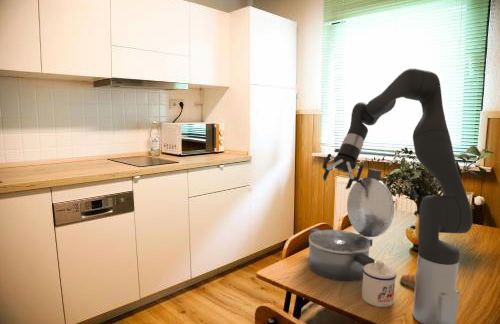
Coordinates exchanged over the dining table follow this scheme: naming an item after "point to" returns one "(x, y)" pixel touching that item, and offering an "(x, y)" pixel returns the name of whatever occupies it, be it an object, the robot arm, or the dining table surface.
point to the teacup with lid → (378, 284)
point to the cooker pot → (338, 254)
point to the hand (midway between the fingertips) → (335, 184)
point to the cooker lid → (370, 205)
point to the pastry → (409, 280)
